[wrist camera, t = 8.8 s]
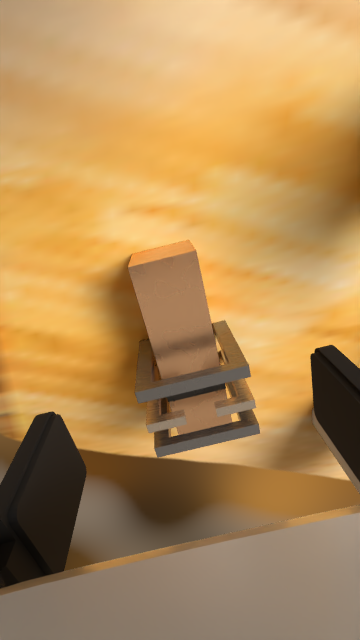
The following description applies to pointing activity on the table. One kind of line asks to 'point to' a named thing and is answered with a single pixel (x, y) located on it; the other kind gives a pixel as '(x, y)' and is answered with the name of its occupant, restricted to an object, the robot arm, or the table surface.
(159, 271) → the tall tan block
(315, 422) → the cup
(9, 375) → the table surface
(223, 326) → the grey open box frame
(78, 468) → the robot arm
